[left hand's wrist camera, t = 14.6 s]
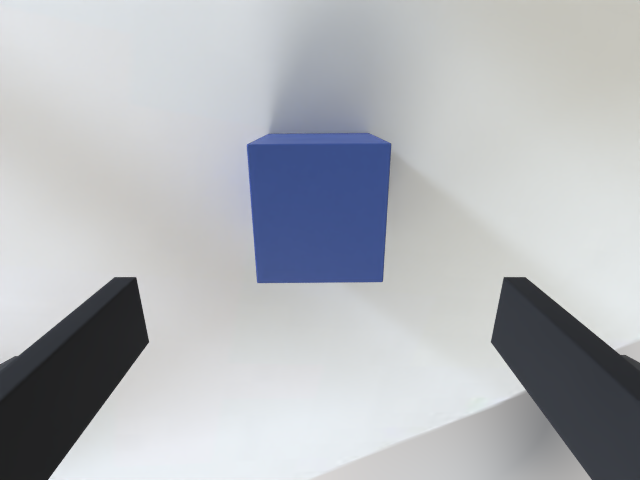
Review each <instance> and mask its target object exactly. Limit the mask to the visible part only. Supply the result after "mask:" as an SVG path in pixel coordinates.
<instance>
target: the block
mask: <svg viewBox="0 0 640 480" xmlns="http://www.w3.org/2000/svg"><path fill="white" fill-rule="evenodd" d="M247 154H248V167H249V181H250V194H251V207H252V220H253V234H254V247H255V260H256V273H257V283H324V282H383V270H384V254H385V238H386V221H387V205H388V189H389V173H390V156H391V143H389V142H387V141H384V140H382V139H380V138H378V137H376V136H374V135H372V134H369V133H329V134H267V135H265V136H263V137H261V138H259V139H257V140H255V141H253V142H251V143H249V144H247Z"/></svg>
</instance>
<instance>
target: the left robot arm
mask: <svg viewBox="0 0 640 480" xmlns="http://www.w3.org/2000/svg"><path fill="white" fill-rule="evenodd" d="M148 343H149V339H148V334H147V329H146V324H145V319H144V314H143V309H142V304H141V299H140V294H139V289H138V284H137V279H136V277H114V278H113V279H112V280H111V281H110V282H108V283H107V284H106V285H105V286H103V287H102V288H101V289H100V290H99V291H97V292H96V293H95V294H94V295H92V296H91V297H90V298H89V299H88V300H86V301H85V302H84V303H83V304H81V305H80V306H79V307H78V308H77V309H75V310H74V311H73V312H72V313H70V314H69V315H68V316H67V317H66V318H64V319H63V320H62V321H61V322H59V323H58V324H57V325H56V326H55V327H53V328H52V329H51V330H50V331H48V332H47V333H46V334H45V335H44V336H42V337H41V338H40V339H39V340H37V341H36V342H35V343H34V344H33V345H31V346H30V347H29V348H28V349H26V350H25V351H24V352H23V353H22V354H20V355H19V356H15V357H13V358H11V359H9V360H7V361H5V362H4V363H2V364H0V480H48V479H49V478H50V476H51V475H52V474H53V472H54V471H55V469H56V468H57V467H58V465H59V464H60V463H61V461H62V460H63V459H64V457H65V456H66V454H67V453H68V452H69V450H70V449H71V448H72V446H73V445H74V444H75V442H76V441H77V440H78V438H79V437H80V435H81V434H82V433H83V431H84V430H85V429H86V427H87V426H88V425H89V423H90V422H91V420H92V419H93V418H94V416H95V415H96V414H97V412H98V411H99V410H100V408H101V407H102V405H103V404H104V403H105V401H106V400H107V399H108V397H109V396H110V395H111V393H112V392H113V390H114V389H115V388H116V386H117V385H118V384H119V382H120V381H121V380H122V378H123V377H124V376H125V374H126V373H127V371H128V370H129V369H130V367H131V366H132V365H133V363H134V362H135V361H136V359H137V358H138V356H139V355H140V354H141V352H142V351H143V350H144V348H145V347H146V346H147V344H148ZM491 343H492V344H493V346H494V347H495V348H496V350H497V351H498V352H499V354H500V355H501V356H502V358H503V359H504V361H505V362H506V363H507V365H508V366H509V367H510V369H511V370H512V371H513V373H514V374H515V376H516V377H517V378H518V380H519V381H520V382H521V384H522V385H523V386H524V388H525V389H526V390H527V392H528V393H529V395H530V396H531V397H532V399H533V400H534V401H535V403H536V404H537V405H538V407H539V408H540V410H541V411H542V412H543V414H544V415H545V416H546V418H547V419H548V420H549V422H550V423H551V425H552V426H553V427H554V429H555V430H556V431H557V433H558V434H559V435H560V437H561V438H562V439H563V441H564V442H565V444H566V445H567V446H568V448H569V449H570V450H571V452H572V453H573V455H574V456H575V457H576V459H577V460H578V461H579V463H580V464H581V465H582V467H583V468H584V469H585V471H586V472H587V474H588V475H589V476H590V478H591V479H592V480H640V363H639V362H637V361H636V360H634V359H632V358H630V357H628V356H626V355H620V354H618V353H617V352H616V351H615V350H614V349H612V348H611V347H610V346H609V345H607V344H606V343H605V342H604V341H603V340H601V339H600V338H599V337H598V336H596V335H595V334H594V333H593V332H592V331H590V330H589V329H588V328H587V327H585V326H584V325H583V324H582V323H581V322H579V321H578V320H577V319H576V318H574V317H573V316H572V315H571V314H570V313H568V312H567V311H566V310H565V309H563V308H562V307H561V306H560V305H559V304H557V303H556V302H555V301H554V300H552V299H551V298H550V297H549V296H548V295H546V294H545V293H544V292H543V291H541V290H540V289H539V288H538V287H537V286H535V285H534V284H533V283H532V282H530V281H529V280H528V279H527V278H526V277H504V279H503V284H502V289H501V294H500V299H499V304H498V309H497V314H496V319H495V324H494V329H493V334H492V339H491Z"/></svg>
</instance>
